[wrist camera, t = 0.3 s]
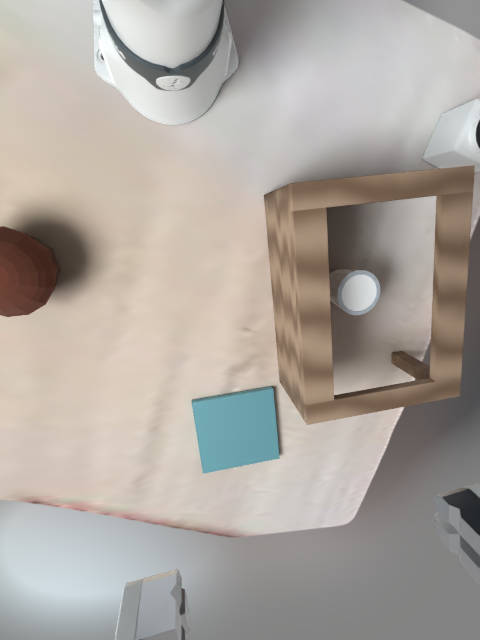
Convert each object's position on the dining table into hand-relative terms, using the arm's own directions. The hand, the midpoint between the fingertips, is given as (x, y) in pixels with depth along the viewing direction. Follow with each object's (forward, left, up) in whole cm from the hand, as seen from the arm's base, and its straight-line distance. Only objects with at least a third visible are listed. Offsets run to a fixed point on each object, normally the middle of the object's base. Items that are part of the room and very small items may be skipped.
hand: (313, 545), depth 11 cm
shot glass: (+2, +22, -47) cm, 52 cm away
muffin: (-7, -25, -47) cm, 54 cm away
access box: (+2, +22, -46) cm, 51 cm away
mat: (+25, +2, -46) cm, 53 cm away
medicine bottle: (-18, +41, -47) cm, 65 cm away
